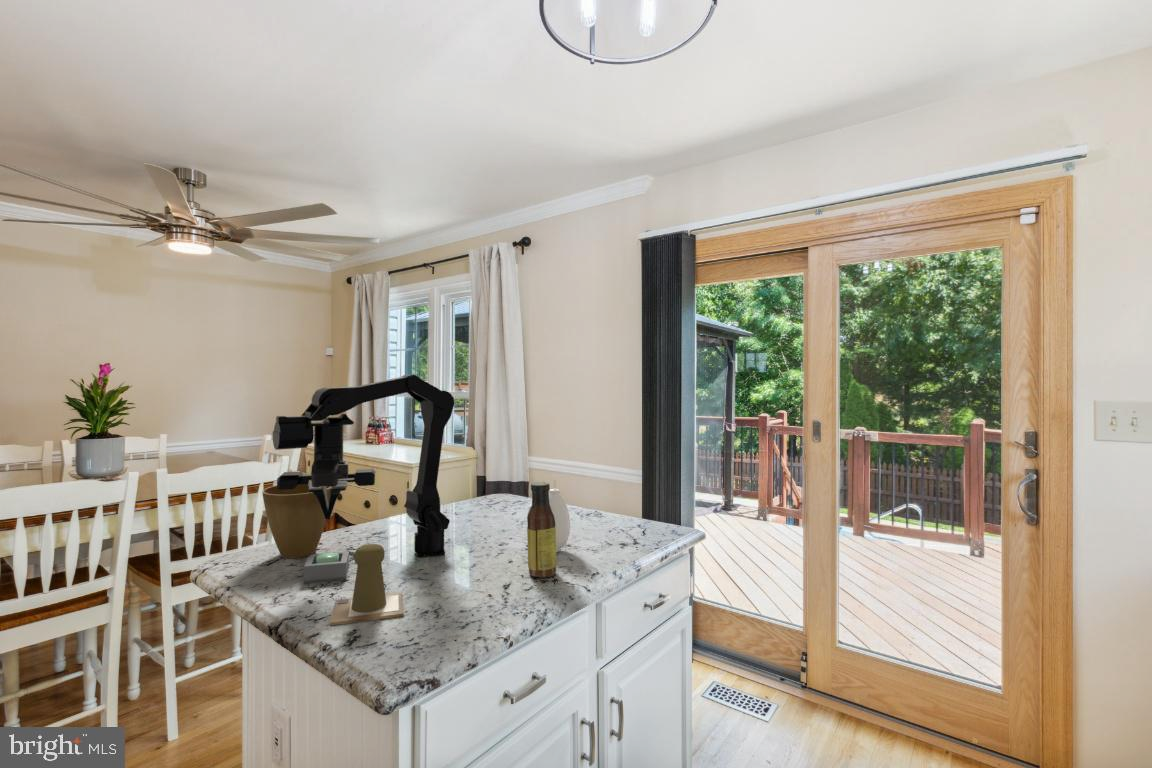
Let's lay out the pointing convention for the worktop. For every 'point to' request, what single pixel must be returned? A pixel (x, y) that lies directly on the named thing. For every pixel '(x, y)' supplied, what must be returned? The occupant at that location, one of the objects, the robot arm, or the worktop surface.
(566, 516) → the white vase
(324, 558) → the button
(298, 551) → the plant pot
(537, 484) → the sauce bottle
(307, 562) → the button housing
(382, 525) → the worktop surface
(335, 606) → the tan rectangular board
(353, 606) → the cork
